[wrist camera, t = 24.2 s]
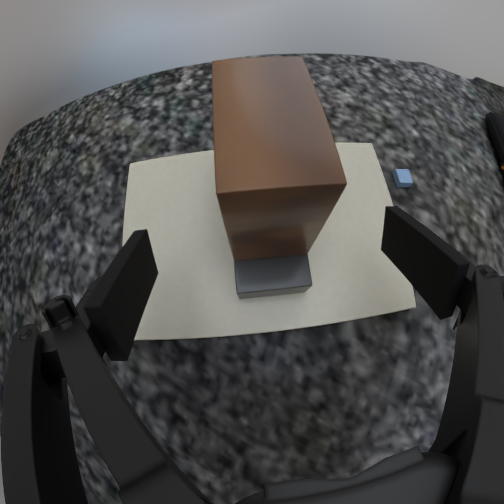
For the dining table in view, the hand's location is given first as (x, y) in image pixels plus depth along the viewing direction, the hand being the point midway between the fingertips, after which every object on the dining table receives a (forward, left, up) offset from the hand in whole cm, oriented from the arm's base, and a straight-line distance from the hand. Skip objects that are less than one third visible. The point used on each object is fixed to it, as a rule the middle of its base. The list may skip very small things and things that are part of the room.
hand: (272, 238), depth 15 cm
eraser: (0, +4, -5) cm, 6 cm away
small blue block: (+13, +7, -5) cm, 16 cm away
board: (0, +3, -6) cm, 7 cm away
